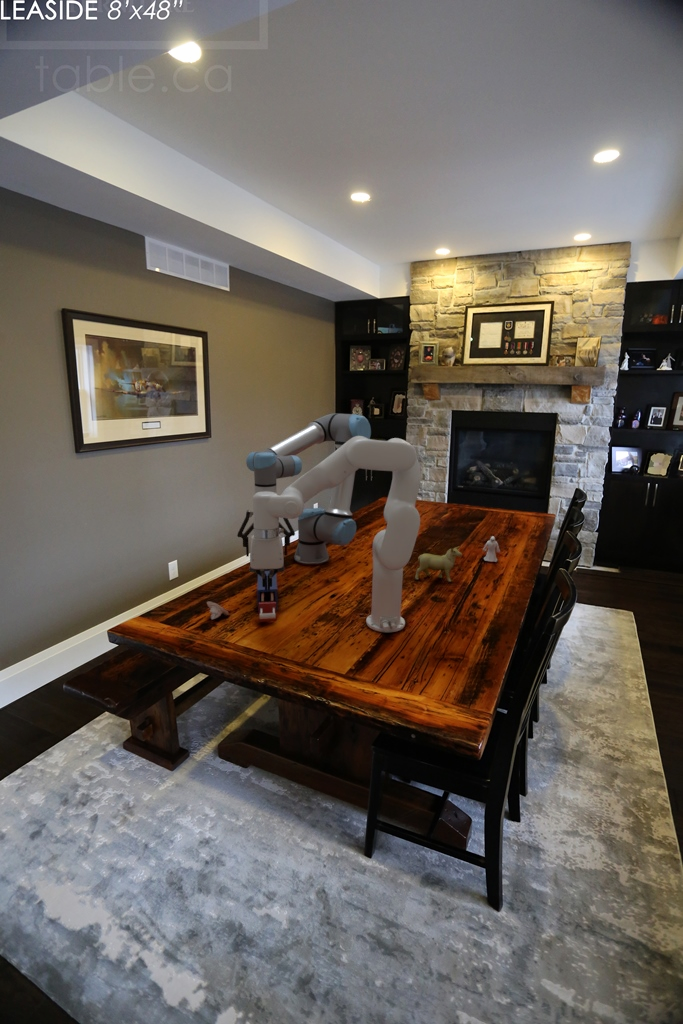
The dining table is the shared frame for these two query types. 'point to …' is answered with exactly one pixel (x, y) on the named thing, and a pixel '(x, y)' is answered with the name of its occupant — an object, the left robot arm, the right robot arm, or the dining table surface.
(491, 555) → the figurine
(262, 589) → the cabinet
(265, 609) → the drawer
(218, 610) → the seashell
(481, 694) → the dining table surface
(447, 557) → the toy
